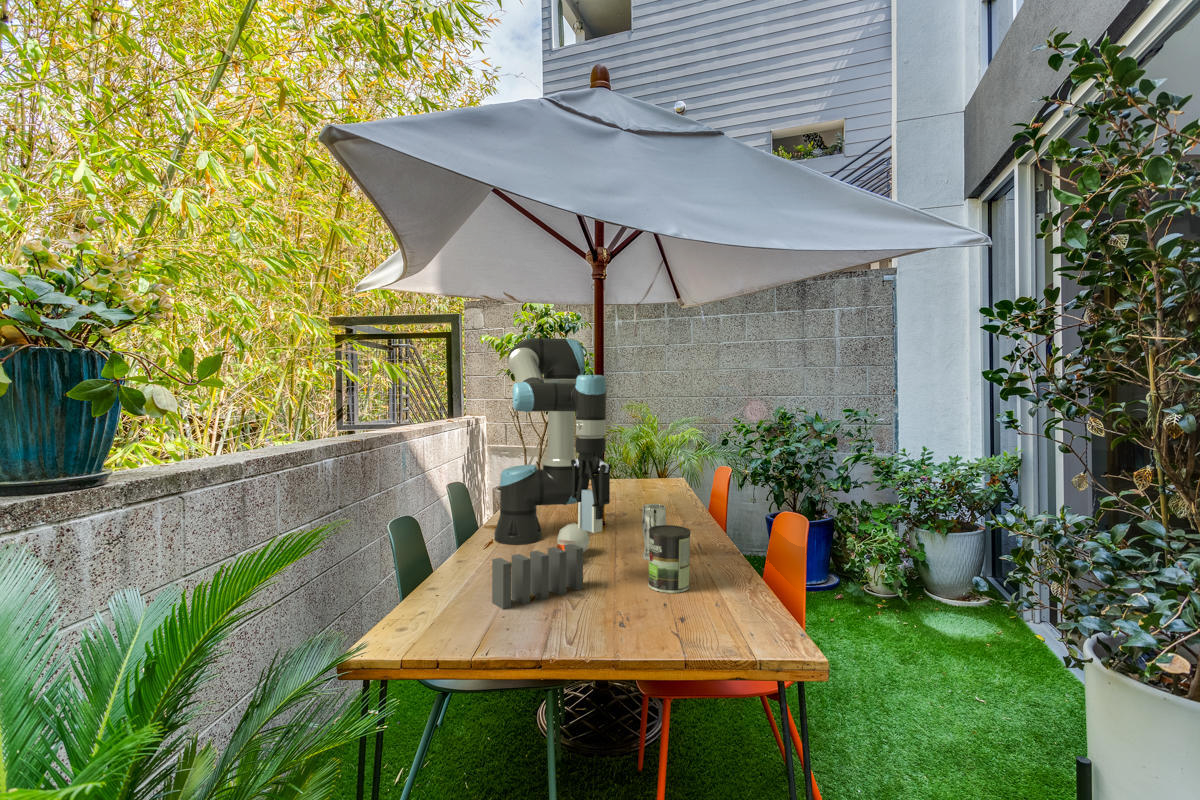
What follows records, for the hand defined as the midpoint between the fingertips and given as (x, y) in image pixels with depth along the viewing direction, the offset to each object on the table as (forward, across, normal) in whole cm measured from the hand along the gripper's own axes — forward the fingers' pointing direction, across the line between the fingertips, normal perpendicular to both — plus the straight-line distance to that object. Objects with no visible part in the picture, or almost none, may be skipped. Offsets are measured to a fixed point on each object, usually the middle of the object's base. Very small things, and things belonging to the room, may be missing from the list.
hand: (589, 529), depth 148 cm
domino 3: (+14, 0, -15) cm, 20 cm away
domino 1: (+14, 0, -25) cm, 28 cm away
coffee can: (+14, +14, +14) cm, 24 cm away
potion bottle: (+14, -20, +9) cm, 26 cm away
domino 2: (+14, 0, -20) cm, 24 cm away
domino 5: (+14, 0, -5) cm, 14 cm away
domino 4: (+14, 0, -10) cm, 17 cm away
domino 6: (0, 0, 0) cm, 0 cm away
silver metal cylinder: (+14, -6, +28) cm, 32 cm away
